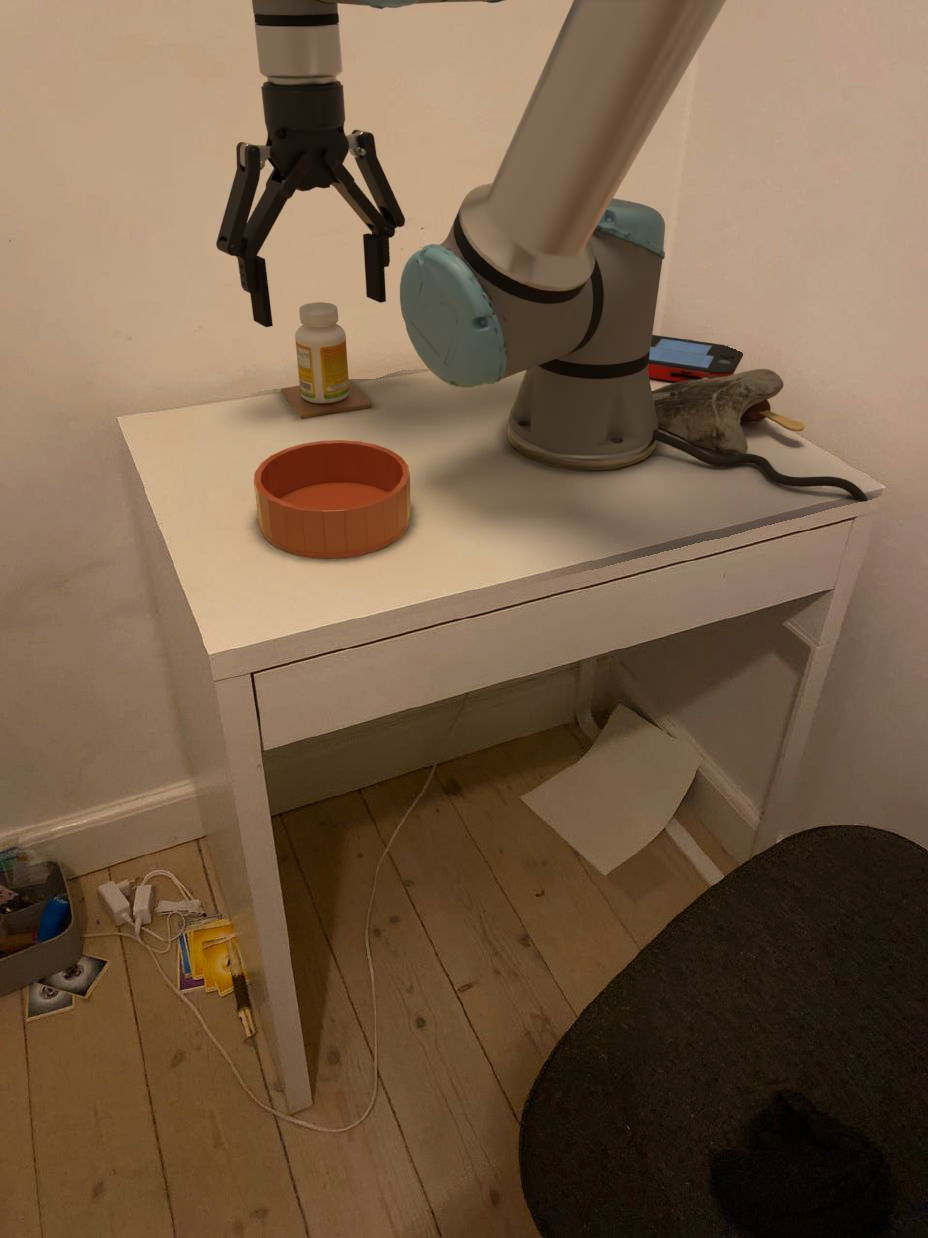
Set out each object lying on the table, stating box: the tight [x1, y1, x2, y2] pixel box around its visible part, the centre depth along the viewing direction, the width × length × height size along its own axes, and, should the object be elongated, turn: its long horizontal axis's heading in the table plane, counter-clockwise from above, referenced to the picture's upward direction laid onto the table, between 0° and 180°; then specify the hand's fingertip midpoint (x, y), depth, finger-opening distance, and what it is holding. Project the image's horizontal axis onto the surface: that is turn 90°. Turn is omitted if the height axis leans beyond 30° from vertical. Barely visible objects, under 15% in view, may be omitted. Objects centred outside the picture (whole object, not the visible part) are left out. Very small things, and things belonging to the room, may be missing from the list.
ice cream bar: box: [701, 375, 805, 432], centre depth 101 cm, size 3×5×15 cm
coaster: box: [280, 379, 373, 419], centre depth 106 cm, size 8×8×1 cm
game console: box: [648, 334, 744, 383], centre depth 115 cm, size 14×13×2 cm
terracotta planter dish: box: [253, 439, 412, 559], centre depth 83 cm, size 13×13×4 cm
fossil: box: [652, 368, 784, 455], centre depth 100 cm, size 11×5×15 cm
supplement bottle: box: [294, 301, 350, 404], centre depth 103 cm, size 5×5×10 cm
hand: (321, 311), depth 100 cm, fingers open, 13 cm apart
